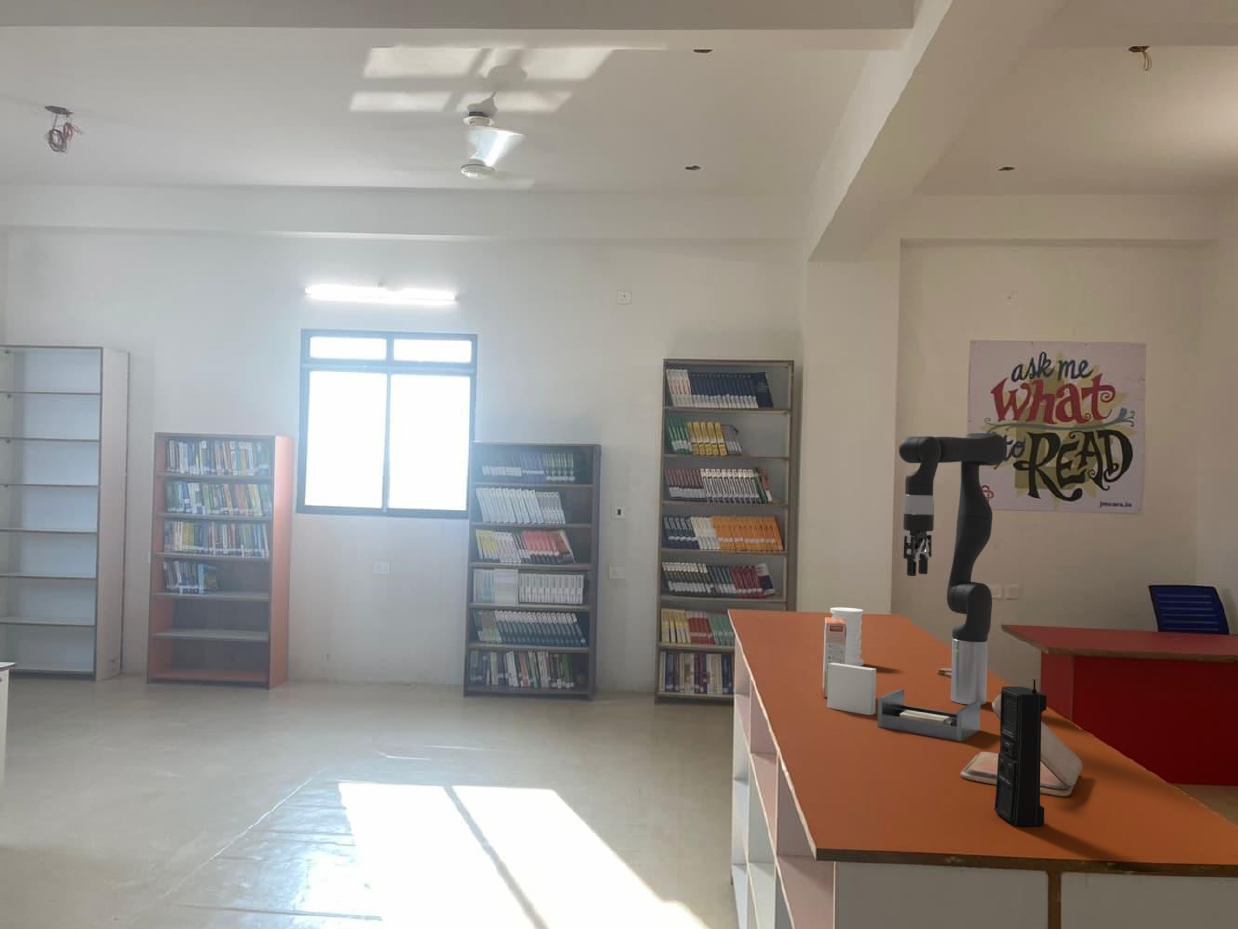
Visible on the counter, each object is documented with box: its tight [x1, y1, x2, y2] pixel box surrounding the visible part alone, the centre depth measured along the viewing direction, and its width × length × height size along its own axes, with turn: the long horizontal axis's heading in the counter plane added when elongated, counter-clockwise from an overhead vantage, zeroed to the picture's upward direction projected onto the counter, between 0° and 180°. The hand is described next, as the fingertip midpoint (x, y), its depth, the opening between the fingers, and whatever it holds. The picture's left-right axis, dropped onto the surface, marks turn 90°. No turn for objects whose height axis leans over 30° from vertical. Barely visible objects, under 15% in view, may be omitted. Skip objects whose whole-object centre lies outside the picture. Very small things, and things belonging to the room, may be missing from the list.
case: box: [959, 693, 1084, 798], centre depth 191 cm, size 20×21×16 cm
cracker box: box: [822, 616, 846, 699], centre depth 266 cm, size 14×6×21 cm, turn 168°
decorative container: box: [829, 606, 864, 667], centre depth 317 cm, size 12×12×18 cm
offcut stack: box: [900, 710, 951, 726], centre depth 227 cm, size 6×11×4 cm, turn 59°
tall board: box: [826, 663, 877, 716], centre depth 246 cm, size 3×12×12 cm, turn 53°
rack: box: [877, 688, 982, 742], centre depth 229 cm, size 15×20×7 cm
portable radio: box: [993, 678, 1048, 827], centre depth 166 cm, size 8×6×25 cm
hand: (917, 574), depth 245 cm, fingers open, 8 cm apart
